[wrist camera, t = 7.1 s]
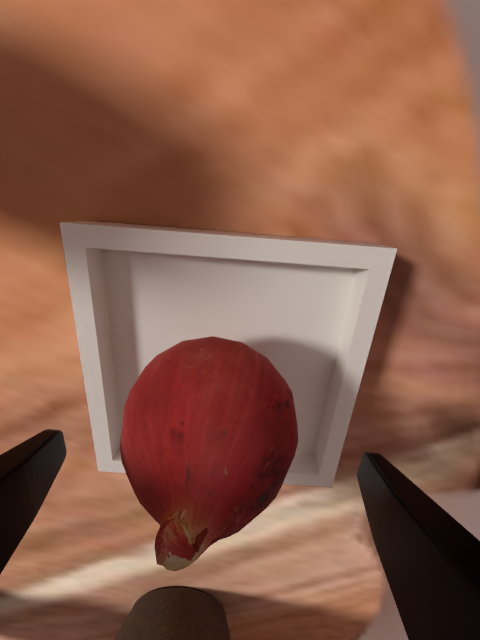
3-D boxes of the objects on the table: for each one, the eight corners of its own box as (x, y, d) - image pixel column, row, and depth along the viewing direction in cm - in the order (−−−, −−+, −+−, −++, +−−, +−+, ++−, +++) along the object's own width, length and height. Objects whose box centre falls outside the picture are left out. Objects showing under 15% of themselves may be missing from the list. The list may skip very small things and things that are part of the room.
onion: (300, 325, 12) (377, 504, 5) (266, 426, 14) (281, 660, 7) (170, 294, 12) (32, 432, 4) (155, 401, 14) (43, 617, 6)
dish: (321, 455, 16) (331, 487, 14) (115, 440, 16) (98, 471, 14) (373, 242, 12) (397, 248, 10) (89, 220, 12) (59, 222, 10)
